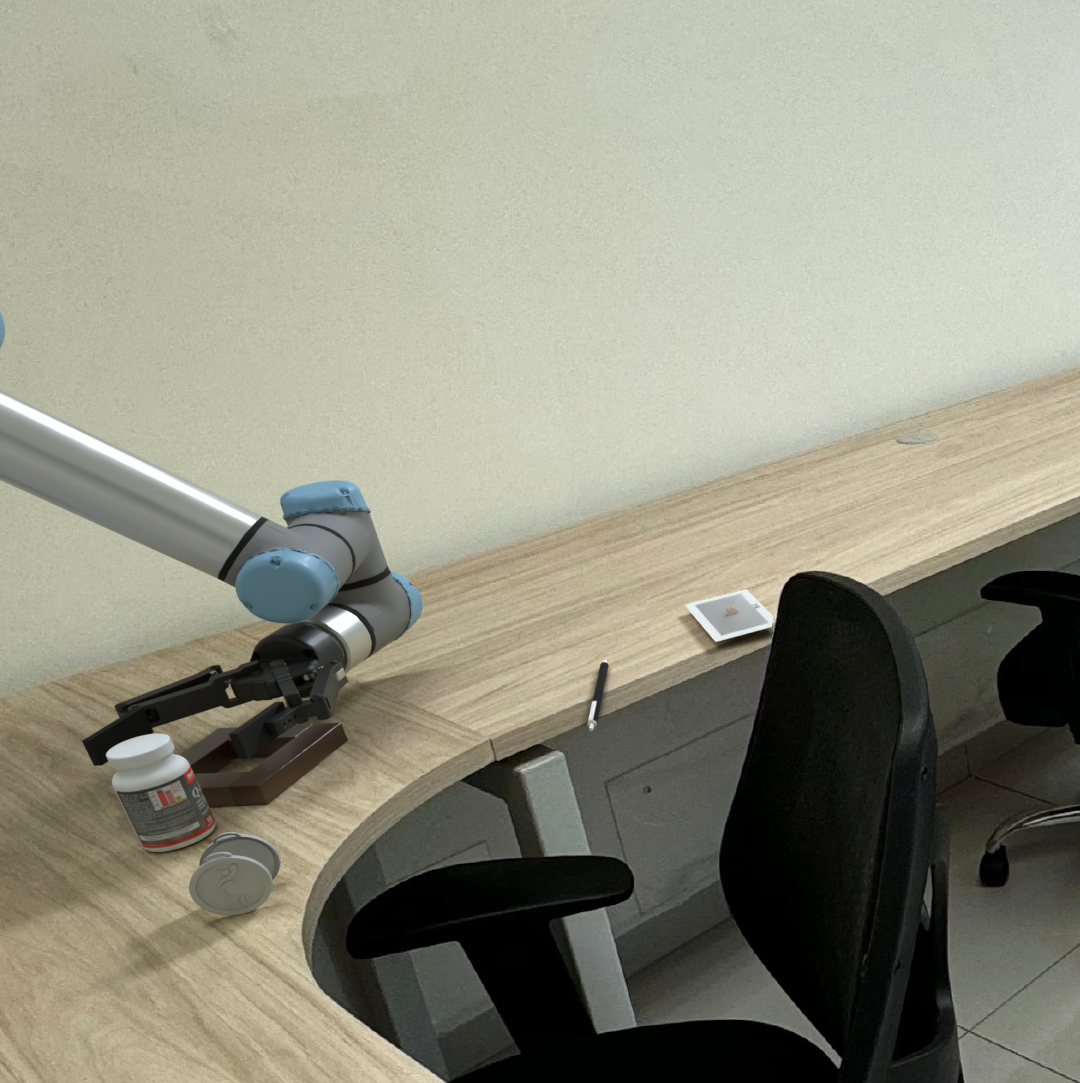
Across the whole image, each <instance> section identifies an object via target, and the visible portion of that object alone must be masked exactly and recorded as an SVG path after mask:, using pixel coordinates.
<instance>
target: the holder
mask: <svg viewBox="0 0 1080 1083" xmlns="http://www.w3.org/2000/svg"><path fill="white" fill-rule="evenodd" d="M238 727H239V726H236V727H219V728H216V729H215V730H214V731H212V732H210V733H209V734H208V735H206V736H205V737H203V738H201V740H199V741H197V742H196V743H194V744H193V745H192V746H190V747H189V748H187V749H186V750H184V751H183V752H181V753H180V754H178V755H179V756H182V757H184V758H185V759H186V760H187V761H188V763H189V764H190V766H191V768H192V771H193V773H194V775H195V777H196V779H197V781H198V784H199V786H200V788H201V790H202V793H203V795H204V797H205V799H206V801H207V803H208V805H209V808H215V807H216V808H218V807H236V806H254V805H255V806H256V805H268V804H269V803H270V802H272V801H273V800H275V799H276V798H277V797H278V796H279V795H281V794H282V793H283V792H284V791H286V790H287V789H288V788H290V787H291V786H292V785H293V784H294V783H296V782H297V781H299V779H301V778H302V777H304V775H306V774H307V773H308V772H310V771H311V770H313V768H315V767H316V766H318V765H319V764H320V763H321V762H322V761H324V760H325V759H327V757H329V756H330V755H331V754H333V753H334V752H335V751H336V750H338V749H339V748H340V747H342V746H343V745H344V744H345V743H346V742H347V741H348V740H349V738H348V736H347V734H346V731H345V728H344V726H343V723H342V722H340V721H339V722H321V723H302V724H296V725H294V726H293V727H291V728H290V729H288V731H286V732H285V733H283V734H281V735H280V736H278V737H277V738H275V739H274V740H273V741H271V742H270V743H269V744H267V745H266V746H264V747H263V748H262V749H260V750H259V751H258V752H256V753H255V754H253V755H252V756H251V757H249V758H248V759H250V758H251V759H252V758H265V759H264V760H263V761H261V762H260V763H258V764H257V765H256V766H255V767H253V768H252V769H250V770H248V771H245V770H244V771H224V772H219V770H221V769H222V768H224V767H225V766H227V764H229V763H231V762H232V761H234V760H235V759H239V757H238V755H237V752H236V750H235V748H234V745H233V743H232V741H231V738H230V736H229V733H231V732H232V731H234V730H235V729H237V728H238ZM333 751H334V752H333Z"/></svg>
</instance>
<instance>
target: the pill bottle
mask: <svg viewBox="0 0 1080 1083" xmlns="http://www.w3.org/2000/svg"><path fill="white" fill-rule="evenodd" d="M175 747H176V746H175V744H174V742H173V741H172V739H171V736H170V735H168V734H166V733H152V734H148V735H143V736H139V737H135V738H132V739H129V740H126V741H124V742H121V743H119V744H117V745H116V746H114V747H112V748H111V749H110V750H109V751H108V752H107V753H106V757H107V759H108V762H107V763H108V764H109V766H110V768H112V769H114V770H116V772H115V773H114V775H113V776H112V779H111V786H112V790H113V791H114V793H115V796H116V797H117V799H118V802H119V803H120V805H121V808H122V810H123V811H124V814H125V816H126V818H127V820H128V822H129V824H130V827H131V828H132V830H133V832H134V834H135V836H136V838H137V840H138V842H139V844H140V846H141V848H143V849H144V850H146V851H148V852H153V853H162V852H163V853H164V852H170V851H176V850H178V849H182V848H186V847H188V846H191V845H194V844H196V843H198V842H200V841H201V840H203V839H205V838H206V837H208V836H209V835H210V834H211V833H212V832H214V830H215V828H216V825H217V824H216V823H217V821H216V819H215V816H214V814H213V812H212V810H211V807H209V805H208V803H207V801H206V799H205V797H204V795H203V793H202V790H201V788H200V786H199V784H198V781H197V779H196V777H195V775H194V773H193V771H192V768H191V766H190V764H189V763H188V761H187V760H186V759H185V758H184V757H182V756H179V755H180V754H174V750H175V749H176V748H175Z"/></svg>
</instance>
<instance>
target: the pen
mask: <svg viewBox="0 0 1080 1083" xmlns="http://www.w3.org/2000/svg"><path fill="white" fill-rule="evenodd" d="M599 664H600V665H599V667H598V668H599V669H598V673H597V678H596V683H595V687H594V692H593V696H592V701H591V705H590V710H589V715H588V719H587V724H586V725H587V727H588V731H589V732H593V731H594V729H595V728H596V727H597V725H598V720H599V715H600V710H601V705H602V701H603V696H604V690H605V687H606V686H605V685H606V682H607V676H608V670H609V663H608V660H607V658H606V659H604V660H602V662H601V663H599Z"/></svg>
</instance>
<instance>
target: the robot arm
mask: <svg viewBox="0 0 1080 1083" xmlns="http://www.w3.org/2000/svg"><path fill="white" fill-rule="evenodd" d="M5 337H6V326H5V320H4V317H3V314H2V312H1V311H0V349H1V348H2V346H3V344H4V341H5ZM0 482H4V483H5V484H8V485H10V486H12V487H13V488H17V489H19V490H20V491H23V492H25V493H27V494H30V495H31V496H34V497H36V498H38V499H41V500H43V501H45V502H47V503H50V504H52V505H54V506H56V507H58V508H60V509H62V510H65V511H67V512H69V513H72V514H73V515H76V516H78V517H80V518H83V519H85V520H87V521H89V522H92V523H94V524H95V525H98V526H100V527H102V528H105V529H107V530H109V531H111V532H114V533H116V534H118V535H119V536H123V537H125V538H127V539H129V540H131V541H133V542H136V543H138V544H140V545H142V546H145V547H146V548H149V549H151V550H154V551H156V552H158V553H159V554H162V555H164V556H166V557H169V558H171V559H174V560H175V561H178V562H180V563H182V564H184V565H187V566H189V567H191V568H193V569H195V570H198V571H200V572H202V573H205V574H207V575H208V576H211V577H213V578H215V579H217V580H219V581H221V582H224V583H225V584H227V585H229V586H232V587H233V588H235V594H236V596H237V598H238V600H239V601H240V603H241V604H242V605H243V606H244V607H245V609H247V610H248V611H249V612H250V613H251V614H252V615H253V616H255V617H257V618H259V619H261V620H264V621H266V622H271V623H275V624H284V625H283V626H281V627H279V628H278V629H276V630H275V631H273V632H271V633H270V634H268V635H266V636H265V637H263V638H261V639H260V640H259V641H258V642H257V643H256V644H255V646H254V648H253V650H252V653H251V657H250V660H249V661H248V662H244V663H242V664H240V665H238V667H236V668H233V669H230V670H227V671H224V670H223V668H222V666H221V664H211V665H210V666H208V667H206V668H204V669H202V670H200V671H198V672H197V673H195V674H192V675H190V676H187V677H184V678H182V679H179V680H176V681H174V682H171V683H168V684H166V685H164V686H161V687H158V688H155V689H152V690H150V691H146V692H145V693H142V694H140V695H139V694H138V695H136V696H134V697H132V698H129V699H126V700H123V701H121V702H118V703H116V704H115V705H113V708H114V709H115V711H116V713H117V716H118V718H116V719H115V720H114V721H112V722H110V723H108V724H107V725H105V726H103V727H102V728H100V729H99V730H97V731H95V732H93V733H92V734H90V735H89V736H87V737H85V738H84V739H82V740H81V743H82V745H83V746H84V748H85V751H86V752H87V755H88V757H89V759H90V761H91V763H92V765H93V766H94V767H100V766H104V765H105V764H107V763H109V762H108V759H107V757H106V753H107V752H108V751H109V750H110V749H111V748H112V747H114V746H116V745H117V744H119V743H121V742H124V741H126V740H129V739H132V738H135V737H139V736H143V735H148V734H155V732H154V729H153V728H157V727H160V726H163V725H167V724H170V723H172V722H176V721H179V720H182V719H185V718H188V717H191V716H194V715H197V714H200V713H203V712H207V711H210V710H213V709H216V708H220V707H222V708H224V709H231V708H234V707H238V706H241V705H244V704H247V703H250V702H254V701H255V702H260V701H272V700H274V699H278V698H282V697H283V700H284V701H273V703H271V704H270V705H269V706H267V707H266V708H264V709H263V710H261V711H260V712H258V713H257V714H255V715H254V716H252V717H251V718H249V719H248V720H247V721H245V722H243V724H241V725H240V726H237V727H238V728H237V729H235V730H234V731H232V732H231V733H229V736H230V738H231V741H232V743H233V745H234V748H235V750H236V752H237V755H238V757H239V758H238V760H247V759H250V758H249V757H251V756H252V755H253V754H255V753H256V752H258V751H259V750H260V749H262V748H263V747H264V746H266V745H267V744H269V743H270V742H271V741H273V740H274V739H275V738H277V737H278V736H280V735H281V734H283V733H285V732H286V731H288V729H290V728H291V727H293V726H294V725H297V724H306V723H307V722H309V721H310V719H311V718H315V717H316V718H317V720H318V721H325V720H329V719H330V718H332V717H333V714H334V712H335V711H334V710H335V707H336V705H337V700H338V696H339V693H340V691H341V689H342V688H343V687H344V686H345V685H347V684H348V683H349V680H348V676H347V674H348V673H349V672H350V671H351V670H353V669H355V668H356V667H357V666H358V665H360V664H361V663H363V662H364V661H367V660H368V659H369V658H371V657H372V656H373V655H375V654H377V652H379V651H380V650H382V649H383V648H385V647H386V646H388V645H389V644H392V643H393V642H395V641H397V640H398V639H400V638H401V637H402V636H403V635H404V634H406V632H407V631H409V630H410V629H411V628H412V627H413V626H414V625H415V624H416V623H417V622H418V620H419V619H420V618H421V616H422V612H423V607H424V606H423V604H424V602H423V597H422V594H421V593H420V591H419V589H418V588H417V587H415V586H414V584H412V583H411V581H410V579H409V578H408V577H406V576H404V575H403V574H400V573H399V572H398V573H397V572H396V571H395V572H394V571H391V570H390V567H389V565H388V562H387V559H386V557H385V554H384V551H383V548H382V545H381V542H380V539H379V536H378V532H377V531H376V527H375V524H374V521H373V519H372V516H371V513H372V512H371V508H369V507H368V505H367V503H366V499H365V498H364V495H363V494H362V491H361V489H360V488H359V486H358V485H357V484H355V483H354V482H351V481H348V480H341V479H338V480H337V479H334V480H333V479H332V480H322V481H316V482H311V483H306V484H301V485H299V486H296V487H293V488H290V489H289V490H286V491H285V492H284V493H283V494H282V495H281V496H280V498H279V503H280V507H281V510H282V514H283V515H282V519H283V521H285V523H286V525H287V526H285V525H282V524H280V523H277V522H275V521H273V520H271V519H269V518H266V517H264V516H262V515H260V514H258V513H257V512H254V511H253V510H250V509H248V508H246V507H244V506H242V505H240V504H238V503H236V502H234V501H231V500H230V499H227V498H225V497H223V496H221V495H219V494H217V493H215V492H213V491H211V490H209V489H207V488H205V487H204V486H200V485H199V484H197V483H195V482H193V481H191V480H188V479H187V478H184V477H183V476H181V475H178V474H176V473H174V472H172V471H170V470H168V469H166V468H164V467H162V466H159V465H158V464H156V463H153V462H151V461H149V460H147V459H145V458H143V457H141V456H140V455H137V454H135V453H133V452H131V451H129V450H127V449H125V448H123V447H120V446H118V445H116V444H115V443H112V442H110V441H109V440H106V439H104V438H102V437H101V436H98V435H96V434H94V433H92V432H90V431H87V430H86V429H83V428H82V427H80V426H77V425H76V424H73V423H71V422H70V421H67V420H65V419H63V418H61V417H59V416H57V415H55V414H53V413H51V412H48V411H47V410H44V409H42V408H41V407H38V406H36V405H34V404H32V403H29V401H26V400H24V399H22V398H20V397H18V396H16V395H14V394H11V393H10V392H8V391H5V390H3V389H1V388H0ZM229 687H230V688H231V690H232V693H233V695H234V697H231V698H230V697H229V695H228V693H227V689H228V688H229ZM307 698H309V699H307ZM303 699H304V700H303ZM284 702H285V703H284ZM285 704H286V706H285ZM251 758H252V757H251Z"/></svg>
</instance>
